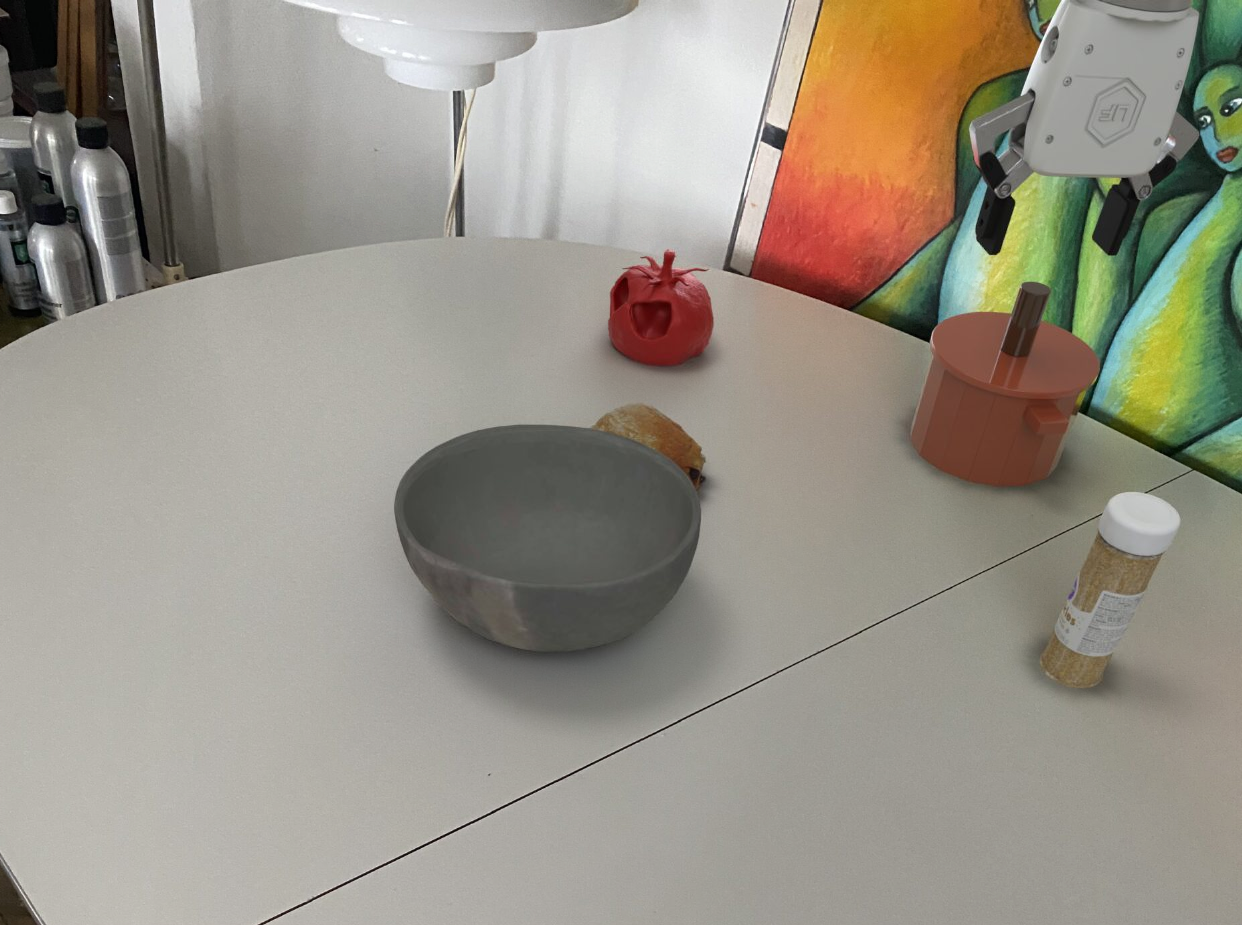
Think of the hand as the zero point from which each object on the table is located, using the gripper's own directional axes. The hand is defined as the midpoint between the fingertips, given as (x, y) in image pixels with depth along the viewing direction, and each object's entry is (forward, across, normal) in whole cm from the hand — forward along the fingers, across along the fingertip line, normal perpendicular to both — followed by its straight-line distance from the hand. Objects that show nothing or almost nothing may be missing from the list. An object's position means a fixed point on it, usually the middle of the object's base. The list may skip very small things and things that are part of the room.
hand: (1045, 247), depth 92 cm
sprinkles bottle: (+17, -5, -29) cm, 34 cm away
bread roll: (+18, -30, -3) cm, 35 cm away
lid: (+9, 0, 0) cm, 9 cm away
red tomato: (+18, -24, +19) cm, 36 cm away
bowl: (+18, -40, -19) cm, 48 cm away
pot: (+17, 0, 0) cm, 17 cm away
